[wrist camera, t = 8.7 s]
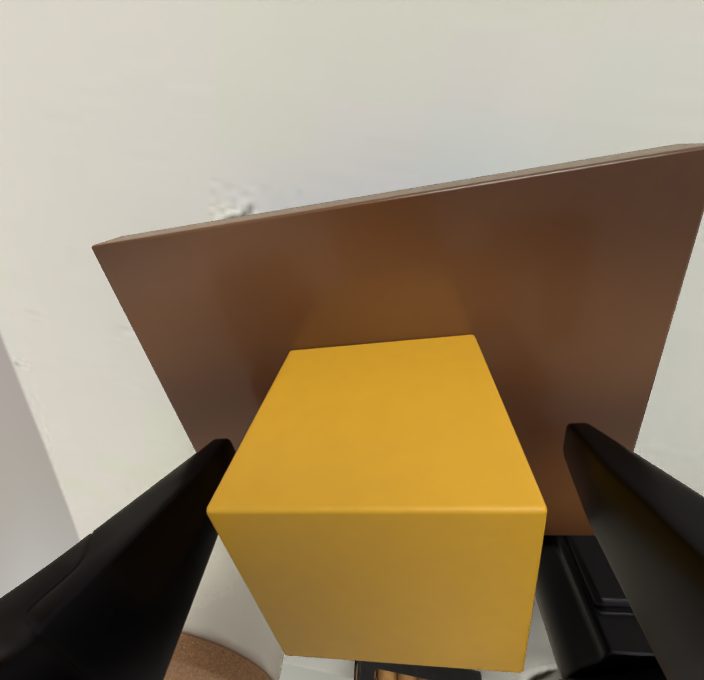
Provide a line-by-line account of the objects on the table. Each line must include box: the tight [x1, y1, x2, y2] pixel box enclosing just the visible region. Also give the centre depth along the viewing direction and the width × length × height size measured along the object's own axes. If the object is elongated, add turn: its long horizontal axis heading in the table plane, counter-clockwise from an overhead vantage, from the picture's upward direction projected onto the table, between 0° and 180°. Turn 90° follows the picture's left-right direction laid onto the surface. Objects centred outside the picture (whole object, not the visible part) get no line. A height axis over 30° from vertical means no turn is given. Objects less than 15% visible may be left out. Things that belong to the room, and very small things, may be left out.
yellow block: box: [207, 335, 547, 673], centre depth 8 cm, size 5×5×5 cm
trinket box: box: [164, 535, 284, 680], centre depth 20 cm, size 11×11×9 cm
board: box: [92, 143, 704, 536], centre depth 11 cm, size 12×14×1 cm
